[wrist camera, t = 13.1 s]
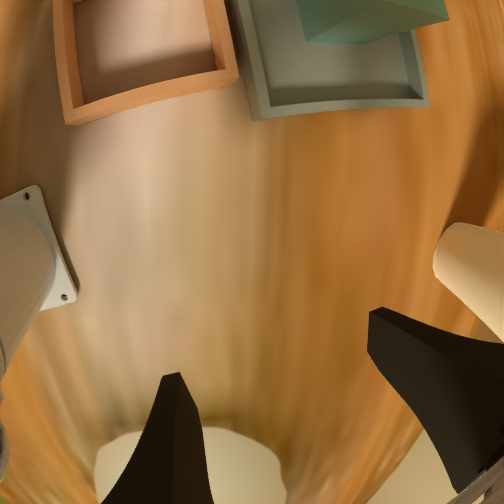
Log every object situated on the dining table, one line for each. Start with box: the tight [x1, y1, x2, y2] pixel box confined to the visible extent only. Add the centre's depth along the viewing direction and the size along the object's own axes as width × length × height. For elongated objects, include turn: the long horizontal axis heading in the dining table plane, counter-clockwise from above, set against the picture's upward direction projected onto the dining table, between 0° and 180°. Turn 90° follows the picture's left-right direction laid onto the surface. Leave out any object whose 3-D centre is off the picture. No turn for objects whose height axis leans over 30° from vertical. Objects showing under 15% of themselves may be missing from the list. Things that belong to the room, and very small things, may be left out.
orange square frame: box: [53, 0, 240, 126], centre depth 12 cm, size 9×9×2 cm
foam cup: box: [433, 222, 504, 342], centre depth 20 cm, size 10×9×13 cm
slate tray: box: [228, 0, 430, 121], centre depth 14 cm, size 13×14×2 cm
